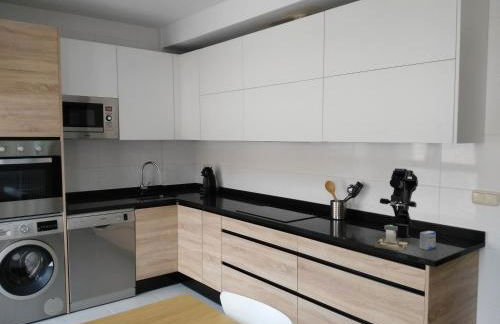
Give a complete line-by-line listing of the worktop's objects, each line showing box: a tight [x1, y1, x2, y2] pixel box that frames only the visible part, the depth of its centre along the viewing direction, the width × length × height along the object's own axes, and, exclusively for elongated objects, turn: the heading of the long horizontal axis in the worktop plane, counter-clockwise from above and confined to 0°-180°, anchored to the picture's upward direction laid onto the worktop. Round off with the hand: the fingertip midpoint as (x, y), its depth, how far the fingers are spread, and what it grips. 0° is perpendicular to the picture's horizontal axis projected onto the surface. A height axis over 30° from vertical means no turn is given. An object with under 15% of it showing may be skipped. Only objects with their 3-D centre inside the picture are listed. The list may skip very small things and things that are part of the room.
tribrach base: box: [374, 236, 409, 252], centre depth 205 cm, size 12×14×5 cm
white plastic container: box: [384, 224, 398, 242], centre depth 203 cm, size 5×6×9 cm
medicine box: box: [419, 230, 437, 251], centre depth 203 cm, size 8×4×9 cm, turn 126°
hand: (396, 218), depth 215 cm, fingers closed
